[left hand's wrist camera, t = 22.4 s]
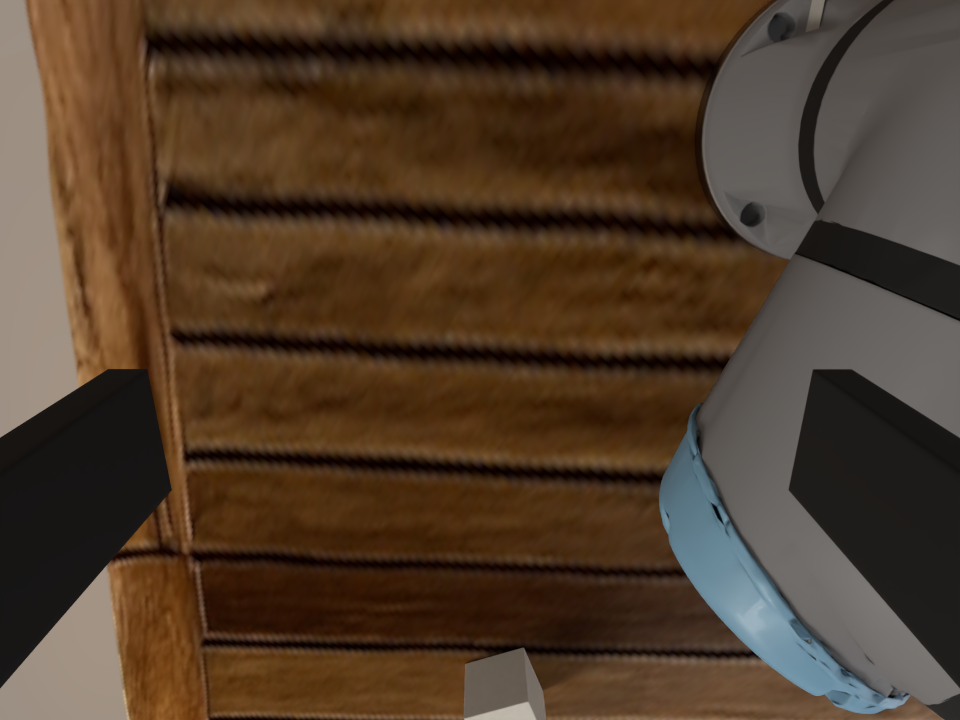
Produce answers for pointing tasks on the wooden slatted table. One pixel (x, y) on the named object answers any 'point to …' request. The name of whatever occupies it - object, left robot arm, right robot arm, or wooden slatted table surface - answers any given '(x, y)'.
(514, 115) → the wooden slatted table surface
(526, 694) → the white cube
